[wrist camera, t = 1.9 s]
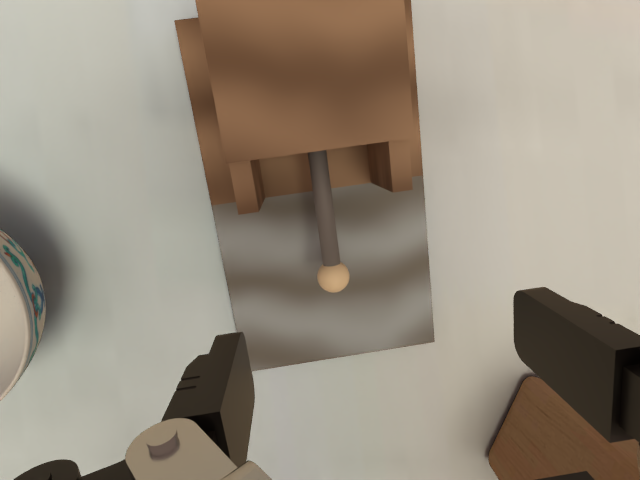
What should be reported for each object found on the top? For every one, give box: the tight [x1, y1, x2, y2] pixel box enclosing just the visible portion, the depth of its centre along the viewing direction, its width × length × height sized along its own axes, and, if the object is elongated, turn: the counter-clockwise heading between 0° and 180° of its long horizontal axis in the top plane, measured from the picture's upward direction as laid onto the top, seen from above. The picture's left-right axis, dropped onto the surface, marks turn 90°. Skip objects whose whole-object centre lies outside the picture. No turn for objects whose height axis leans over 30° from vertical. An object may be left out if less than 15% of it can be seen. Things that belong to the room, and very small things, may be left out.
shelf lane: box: [175, 0, 434, 371], centre depth 27 cm, size 26×16×9 cm, turn 7°
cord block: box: [308, 150, 349, 293], centre depth 27 cm, size 18×6×5 cm, turn 8°
